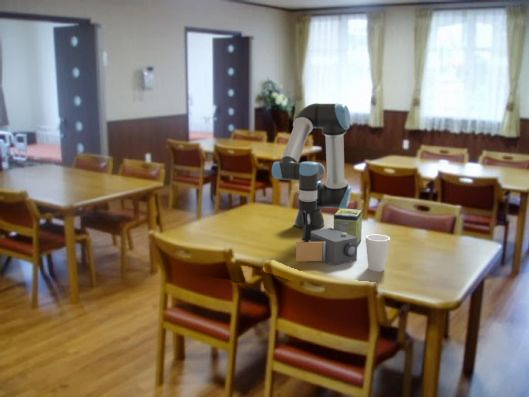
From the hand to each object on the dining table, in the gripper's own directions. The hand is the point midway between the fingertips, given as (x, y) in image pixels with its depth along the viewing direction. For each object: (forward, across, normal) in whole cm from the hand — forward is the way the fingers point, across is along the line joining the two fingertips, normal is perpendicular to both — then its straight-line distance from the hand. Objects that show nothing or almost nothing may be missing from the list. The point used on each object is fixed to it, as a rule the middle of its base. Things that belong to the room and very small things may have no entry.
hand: (306, 254), depth 226 cm
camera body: (+3, -4, +12) cm, 13 cm away
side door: (+2, +3, +2) cm, 4 cm away
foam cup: (+3, +11, +27) cm, 30 cm away
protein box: (+3, -22, +21) cm, 30 cm away
